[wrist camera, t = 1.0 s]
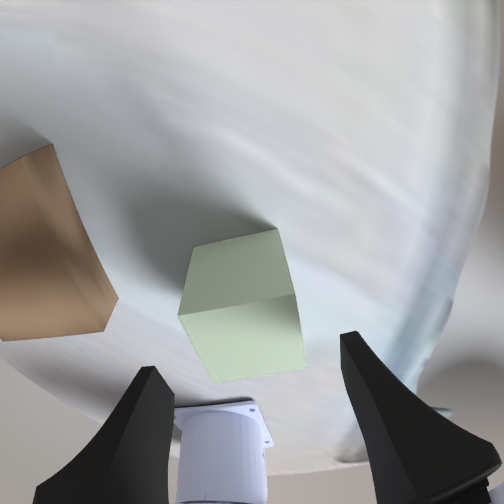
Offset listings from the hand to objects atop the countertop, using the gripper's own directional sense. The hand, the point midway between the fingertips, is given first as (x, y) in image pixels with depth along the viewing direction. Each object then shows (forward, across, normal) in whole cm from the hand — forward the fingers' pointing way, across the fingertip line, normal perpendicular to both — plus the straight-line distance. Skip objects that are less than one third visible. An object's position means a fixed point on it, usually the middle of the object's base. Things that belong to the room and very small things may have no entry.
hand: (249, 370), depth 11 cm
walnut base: (+7, +13, -5) cm, 15 cm away
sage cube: (+7, 0, 0) cm, 7 cm away
